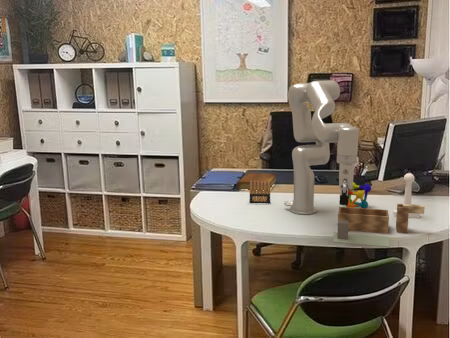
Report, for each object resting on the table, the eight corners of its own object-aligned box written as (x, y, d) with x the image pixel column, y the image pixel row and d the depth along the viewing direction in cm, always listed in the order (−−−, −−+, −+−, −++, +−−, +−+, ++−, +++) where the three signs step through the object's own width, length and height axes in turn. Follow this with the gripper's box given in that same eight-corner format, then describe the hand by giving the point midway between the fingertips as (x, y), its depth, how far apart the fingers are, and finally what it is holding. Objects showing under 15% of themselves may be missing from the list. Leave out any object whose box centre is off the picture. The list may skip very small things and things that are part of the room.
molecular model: (348, 213, 212) (334, 185, 217) (351, 216, 223) (337, 189, 228) (378, 199, 209) (363, 171, 214) (379, 203, 220) (365, 176, 225)
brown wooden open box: (337, 229, 190) (338, 205, 188) (338, 222, 199) (339, 198, 197) (407, 234, 182) (409, 209, 180) (405, 226, 191) (407, 202, 189)
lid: (332, 243, 176) (333, 225, 174) (334, 233, 186) (335, 217, 185) (390, 248, 170) (391, 230, 168) (388, 238, 180) (389, 220, 179)
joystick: (394, 217, 204) (397, 174, 200) (391, 212, 211) (393, 170, 207) (420, 218, 202) (423, 174, 198) (416, 213, 210) (419, 170, 206)
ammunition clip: (270, 203, 230) (270, 180, 228) (270, 204, 229) (270, 180, 226) (249, 202, 232) (249, 180, 229) (249, 203, 230) (249, 180, 227)
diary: (246, 182, 279) (246, 172, 278) (276, 183, 274) (276, 174, 273) (237, 190, 257) (237, 180, 256) (269, 192, 252) (269, 182, 251)
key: (402, 212, 184) (403, 205, 184) (402, 210, 187) (402, 203, 186) (424, 213, 182) (424, 206, 182) (423, 212, 184) (423, 205, 184)
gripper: (356, 164, 164) (353, 209, 168) (357, 154, 180) (354, 195, 184) (335, 163, 166) (333, 207, 170) (337, 153, 182) (335, 193, 186)
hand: (344, 201), depth 177 cm, fingers open, 9 cm apart
